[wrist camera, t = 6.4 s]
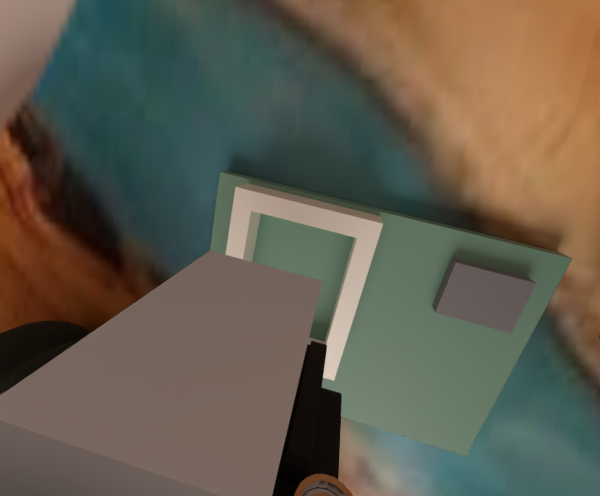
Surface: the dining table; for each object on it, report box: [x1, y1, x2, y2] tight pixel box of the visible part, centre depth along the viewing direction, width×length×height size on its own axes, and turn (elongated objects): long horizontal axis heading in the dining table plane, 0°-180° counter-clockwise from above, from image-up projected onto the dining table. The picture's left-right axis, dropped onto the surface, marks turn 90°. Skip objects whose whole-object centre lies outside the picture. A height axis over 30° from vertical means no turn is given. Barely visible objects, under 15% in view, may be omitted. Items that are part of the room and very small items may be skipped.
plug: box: [0, 251, 322, 496], centre depth 8 cm, size 4×7×7 cm, turn 168°
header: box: [225, 184, 383, 381], centre depth 17 cm, size 8×10×2 cm
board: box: [210, 171, 572, 456], centre depth 18 cm, size 19×14×4 cm
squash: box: [0, 321, 90, 394], centre depth 20 cm, size 14×15×15 cm
